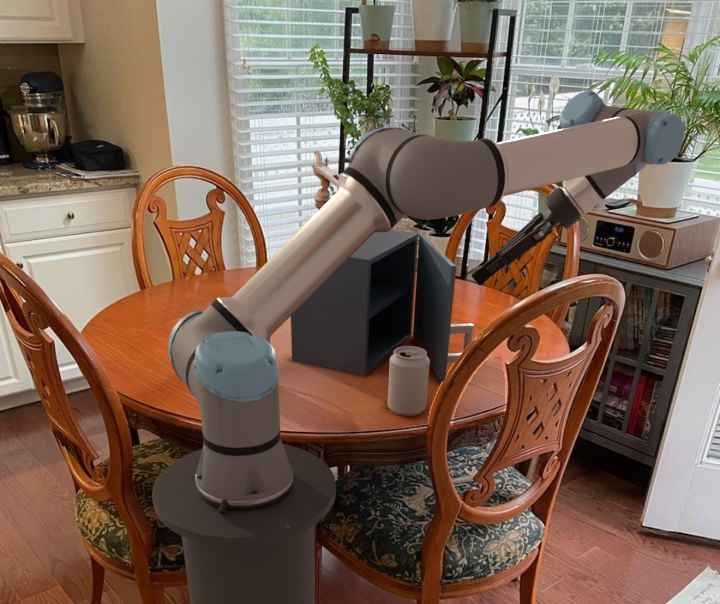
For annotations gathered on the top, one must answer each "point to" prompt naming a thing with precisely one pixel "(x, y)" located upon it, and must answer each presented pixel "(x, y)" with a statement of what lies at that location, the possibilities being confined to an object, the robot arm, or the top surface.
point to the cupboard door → (436, 307)
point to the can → (408, 380)
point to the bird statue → (323, 179)
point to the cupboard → (360, 307)
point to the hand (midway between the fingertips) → (475, 280)
